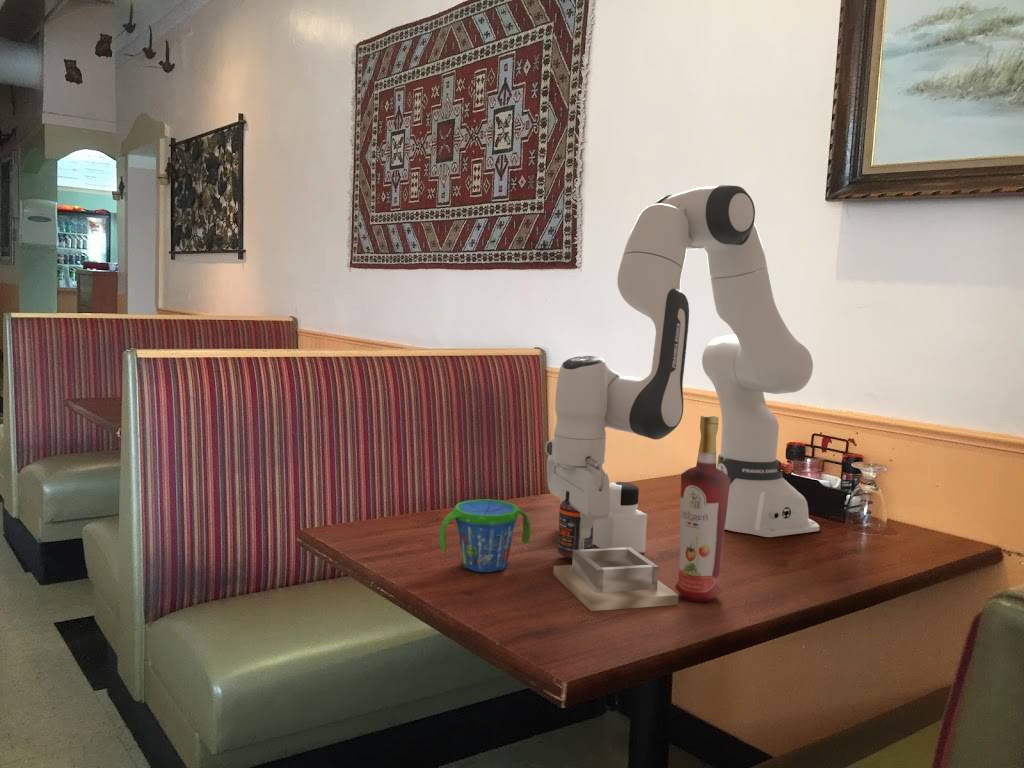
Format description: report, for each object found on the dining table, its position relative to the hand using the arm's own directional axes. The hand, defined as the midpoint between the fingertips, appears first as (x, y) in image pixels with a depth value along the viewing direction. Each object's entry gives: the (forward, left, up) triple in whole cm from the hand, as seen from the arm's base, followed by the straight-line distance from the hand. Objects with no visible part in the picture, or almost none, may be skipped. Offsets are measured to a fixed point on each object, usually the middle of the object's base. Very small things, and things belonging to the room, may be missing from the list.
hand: (575, 530), depth 143 cm
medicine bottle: (-11, -5, -5) cm, 13 cm away
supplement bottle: (0, 0, -4) cm, 4 cm away
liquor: (-12, +21, -5) cm, 25 cm away
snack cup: (+16, +1, -5) cm, 17 cm away
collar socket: (-1, +15, -5) cm, 16 cm away
